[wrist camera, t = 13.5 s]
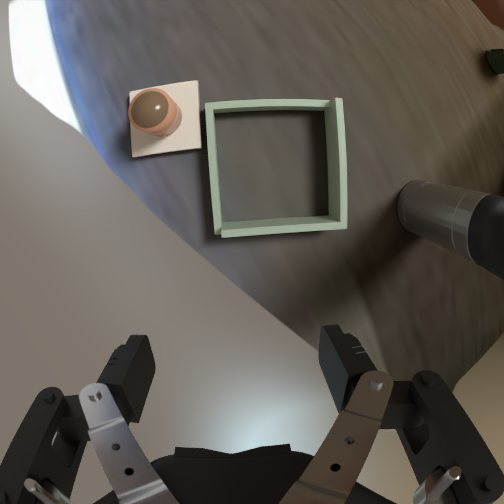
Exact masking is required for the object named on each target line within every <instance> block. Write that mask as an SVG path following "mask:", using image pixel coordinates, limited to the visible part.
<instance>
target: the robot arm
mask: <svg viewBox="0 0 504 504" xmlns="http://www.w3.org/2000/svg"><path fill="white" fill-rule="evenodd" d="M397 213H398V217H399V220H400V222H401V224H402V225H403V227H404V228H405V229H406V230H408V231H410V232H412V233H414V234H417V235H419V236H421V237H423V238H425V239H427V240H429V241H432V242H434V243H436V244H438V245H440V246H442V247H444V248H446V249H448V250H450V251H452V252H454V253H456V254H458V255H460V256H462V257H464V258H466V259H468V260H470V261H472V262H474V263H476V264H478V265H480V266H482V267H483V268H485V269H486V270H488V271H490V272H491V273H493V274H495V275H497V276H498V277H500V278H502V279H503V280H504V197H501V196H497V195H493V194H488V193H484V192H480V191H474V190H470V189H465V188H460V187H455V186H450V185H444V184H439V183H434V182H427V181H421V180H415V181H412V182H410V183H408V184H407V185H406V186H405V187H404V188H403V190H402V191H401V193H400V195H399V199H398V204H397ZM319 363H320V366H321V369H322V371H323V374H324V377H325V379H326V382H327V384H328V387H329V389H330V392H331V395H332V397H333V400H334V402H335V405H336V407H337V410H338V413H339V415H338V417H337V419H336V421H335V423H334V424H333V426H332V428H331V430H330V432H329V433H328V435H327V437H326V439H325V440H324V441H323V443H322V445H321V446H320V448H319V450H318V451H317V453H316V454H315V456H312V455H310V454H306V453H302V452H296V451H291V448H290V444H283V445H274V446H262V447H258V448H255V449H251V450H247V451H243V452H239V453H234V454H229V453H223V452H218V451H213V450H208V449H204V448H182V447H175V453H174V455H168V456H164V457H162V458H159V459H156V460H154V461H153V462H151V463H150V462H149V461H148V459H147V458H146V456H145V455H144V453H143V451H142V450H141V448H140V446H139V445H138V443H137V442H136V440H135V438H134V436H133V434H132V433H131V431H130V429H129V427H128V426H129V423H130V422H134V423H139V420H140V417H141V414H142V410H143V407H144V404H145V401H146V398H147V395H148V392H149V389H150V386H151V383H152V380H153V377H154V374H155V361H154V357H153V353H152V350H151V346H150V342H149V339H148V337H147V335H130V337H129V339H128V341H127V342H126V344H125V345H121V346H119V347H118V348H117V349H116V350H114V352H113V354H112V356H111V357H110V359H109V361H108V363H107V365H106V366H105V368H104V370H103V372H102V373H101V375H100V377H99V379H98V381H97V383H92V384H90V385H87V386H85V387H84V388H83V389H82V390H81V391H80V394H79V395H72V396H64V395H63V393H62V391H61V390H60V389H59V388H56V387H49V388H45V389H43V390H42V391H41V392H40V393H39V394H38V395H37V397H36V398H35V400H34V402H33V404H32V405H31V407H30V409H29V410H28V412H27V414H26V416H25V418H24V419H23V421H22V423H21V425H20V427H19V429H18V431H17V433H16V434H15V436H14V438H13V440H12V442H11V444H10V446H9V448H8V450H7V452H6V454H5V457H4V459H3V461H2V463H1V465H0V504H73V503H72V502H71V500H70V496H71V492H72V489H73V485H74V482H75V478H76V475H77V472H78V468H79V465H80V462H81V459H82V455H83V453H84V449H85V446H86V443H87V441H92V444H93V446H94V449H95V451H96V454H97V456H98V458H99V460H100V463H101V465H102V467H103V469H104V471H105V473H106V475H107V478H108V480H109V482H110V484H111V485H112V488H113V491H111V492H110V493H108V494H107V495H105V496H104V497H102V498H101V499H100V500H98V501H96V502H95V503H93V504H396V503H394V502H392V501H390V500H388V499H386V498H384V497H383V496H381V495H379V494H377V493H375V492H373V491H372V490H370V489H368V488H366V487H364V486H363V485H361V484H359V483H358V482H356V480H357V478H358V476H359V474H360V472H361V470H362V468H363V465H364V463H365V461H366V459H367V457H368V454H369V452H370V450H371V447H372V445H373V443H374V440H375V438H376V435H377V433H378V430H379V429H396V431H397V433H398V435H399V437H400V440H401V442H402V445H403V447H404V449H405V452H406V454H407V456H408V459H409V461H410V464H411V466H412V468H413V471H414V473H415V476H416V478H417V481H418V483H419V487H418V488H417V489H416V491H415V493H414V495H413V504H492V503H493V502H494V501H496V500H497V499H498V498H499V497H500V496H501V495H502V494H503V492H504V474H503V472H502V471H501V469H500V468H499V465H498V464H497V462H496V460H495V458H494V457H493V455H492V453H491V452H490V450H489V449H488V447H487V445H486V443H485V442H484V440H483V439H482V437H481V435H480V434H479V432H478V431H477V429H476V427H475V426H474V424H473V423H472V421H471V420H470V418H469V417H468V415H467V414H466V412H465V411H464V409H463V408H462V407H461V405H460V403H459V402H458V401H457V399H456V398H455V396H454V395H453V393H452V392H451V390H450V389H449V388H448V386H447V385H446V383H445V382H444V381H443V379H442V378H441V377H440V376H439V375H438V374H437V373H435V372H432V371H426V370H425V371H420V372H417V373H416V374H415V375H414V376H413V378H412V381H393V379H392V377H391V376H390V375H388V374H387V373H385V372H382V371H378V370H377V369H376V367H375V366H374V364H373V362H372V361H371V359H370V358H369V356H368V354H367V353H366V352H365V350H364V348H363V347H362V345H361V344H360V342H359V340H358V339H357V338H356V337H354V336H353V335H351V334H350V333H347V334H344V333H343V332H342V330H341V328H340V327H339V325H338V324H336V325H328V326H322V327H321V333H320V344H319ZM56 432H57V436H56V438H55V440H54V443H53V446H52V439H53V437H54V435H55V433H56Z"/></svg>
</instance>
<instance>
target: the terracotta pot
mask: <svg viewBox="0 0 504 504" xmlns="http://www.w3.org/2000/svg"><path fill="white" fill-rule="evenodd" d="M128 116H129V120H130V122H131V124H132V125H133V126H134V127H135V128H136V129H138V130H141V131H144V132H146V133H149V134H152V135H155V136H158V137H165V136H168V135H171V134H172V133H174V132H175V131H176V130H177V129H178V128H179V126H180V124H181V121H182V112H181V109H180V107H179V106H178V105H177V104H176V103H175V102H174V100H173V99H172V98H171V97H170V96H169V95H168V94H167V93H166V92H165V91H163V90H161V89H158V88H149V89H145V90H143V91H141V92H139V93H138V94H137V95H136V96H135V97H134V98H133V99H132V101H131V103H130V105H129V109H128Z"/></svg>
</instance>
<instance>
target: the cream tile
mask: <svg viewBox="0 0 504 504" xmlns="http://www.w3.org/2000/svg"><path fill="white" fill-rule="evenodd" d="M151 88H158V89H161V90H163V91H165V92H166V93H167V94H168V95H169V96H170V97H171V98H172V99H173V100H174V102H175V103H176V104H177V105H178V106H179V107H180V109H181V112H182V121H181V124H180V126H179V128H178V129H177V130H176V131H175V132H174V133H172V134H171V135H168V136H165V137H158V136H155V135H152V134H149V133H146V132H144V131H141V130H138V129H136V128H135V127H134V126H133V125H132V124H131V122H130V126H131V145H132V157H141V156H147V155H154V154H161V153H168V152H175V151H183V150H192V149H201V148H202V136H201V119H200V100H199V83H198V80H196V81H188V82H181V83H174V84H168V85H162V86H156V87H151ZM146 89H149V88H146ZM143 90H145V89H141V90H136V91H132V92H130V103H131V101H132V99H133V98H134V97H135V96H136V95H137V94H138V93H139V92H141V91H143Z"/></svg>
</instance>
